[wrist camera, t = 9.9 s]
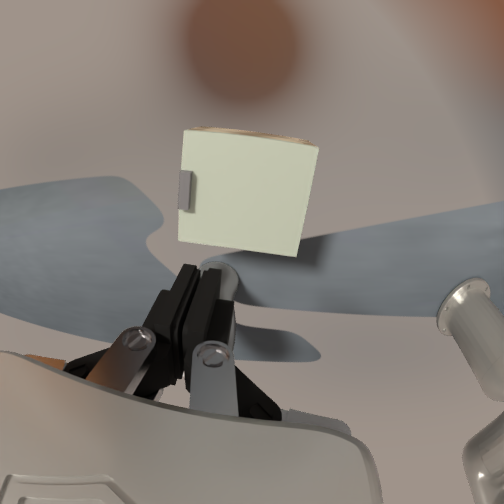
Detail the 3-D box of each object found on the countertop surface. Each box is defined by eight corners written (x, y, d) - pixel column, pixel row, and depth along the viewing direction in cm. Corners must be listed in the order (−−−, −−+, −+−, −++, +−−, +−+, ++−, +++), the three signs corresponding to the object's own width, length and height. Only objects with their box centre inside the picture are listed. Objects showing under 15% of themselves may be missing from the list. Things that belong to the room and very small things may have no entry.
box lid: (317, 146, 24) (320, 149, 23) (295, 252, 29) (296, 261, 28) (187, 129, 24) (181, 131, 22) (180, 236, 29) (176, 244, 27)
